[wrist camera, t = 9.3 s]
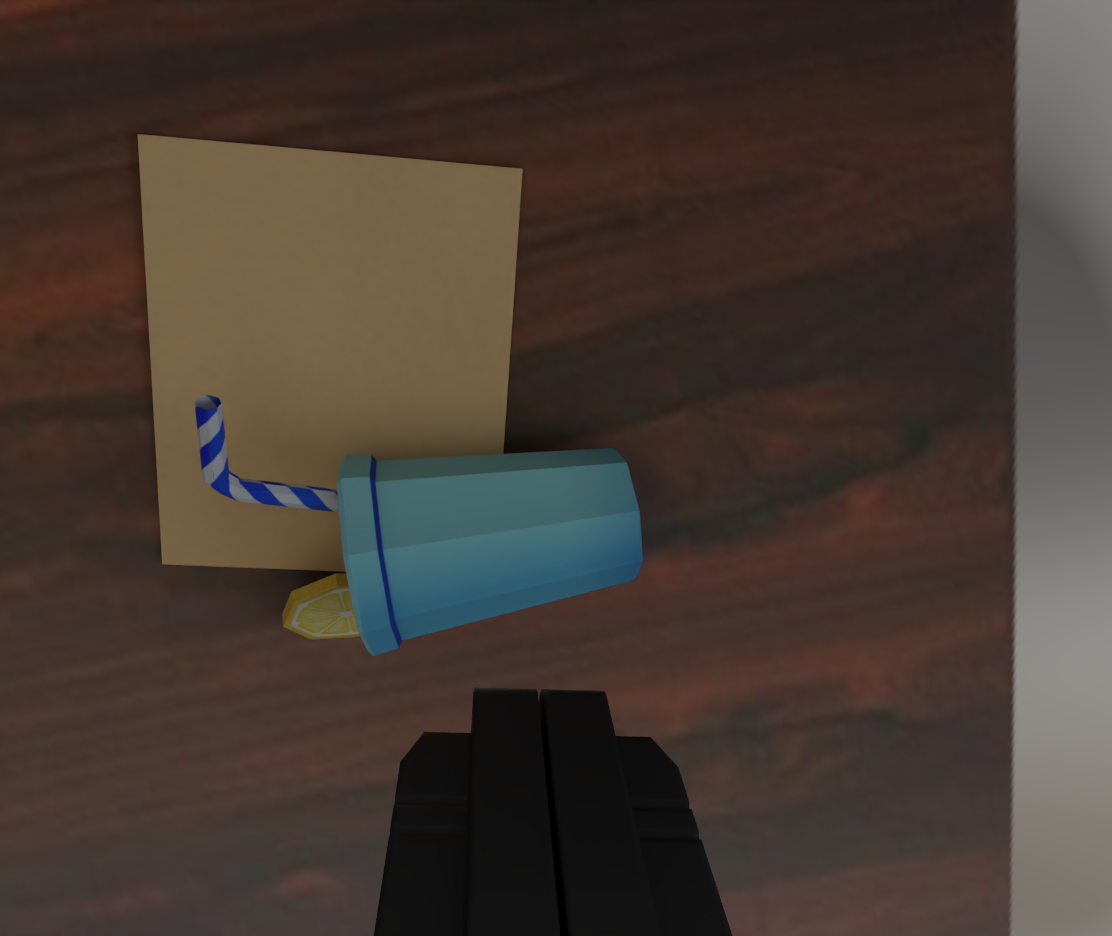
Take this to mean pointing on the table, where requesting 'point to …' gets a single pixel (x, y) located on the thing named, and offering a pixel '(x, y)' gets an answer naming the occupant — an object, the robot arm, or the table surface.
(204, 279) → the cork mat
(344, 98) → the table surface
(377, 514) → the cup
